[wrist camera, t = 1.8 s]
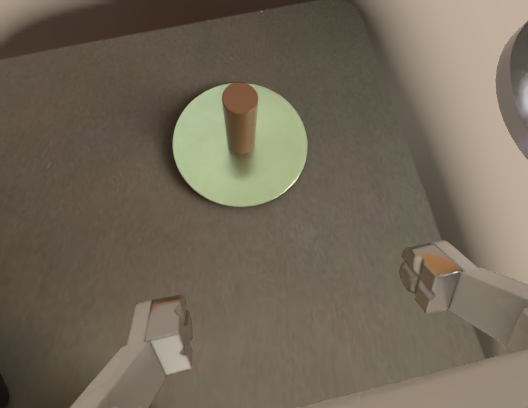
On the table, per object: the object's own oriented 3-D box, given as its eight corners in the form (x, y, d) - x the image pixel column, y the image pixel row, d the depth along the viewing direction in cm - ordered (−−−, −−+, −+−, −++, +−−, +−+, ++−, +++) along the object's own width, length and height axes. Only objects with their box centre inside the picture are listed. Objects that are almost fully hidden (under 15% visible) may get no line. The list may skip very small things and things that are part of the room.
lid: (270, 73, 30) (279, 4, 22) (328, 177, 27) (358, 138, 20) (155, 116, 28) (123, 57, 20) (206, 232, 26) (191, 211, 18)
